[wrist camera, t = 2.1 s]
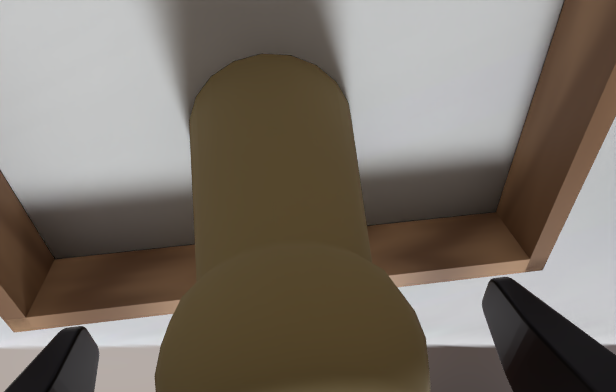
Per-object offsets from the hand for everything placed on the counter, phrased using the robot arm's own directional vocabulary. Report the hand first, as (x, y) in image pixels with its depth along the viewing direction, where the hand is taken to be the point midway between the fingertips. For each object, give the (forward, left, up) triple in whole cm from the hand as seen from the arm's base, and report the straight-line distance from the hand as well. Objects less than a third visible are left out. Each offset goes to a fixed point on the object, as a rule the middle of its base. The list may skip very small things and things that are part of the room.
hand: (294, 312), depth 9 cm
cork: (0, 0, -8) cm, 8 cm away
